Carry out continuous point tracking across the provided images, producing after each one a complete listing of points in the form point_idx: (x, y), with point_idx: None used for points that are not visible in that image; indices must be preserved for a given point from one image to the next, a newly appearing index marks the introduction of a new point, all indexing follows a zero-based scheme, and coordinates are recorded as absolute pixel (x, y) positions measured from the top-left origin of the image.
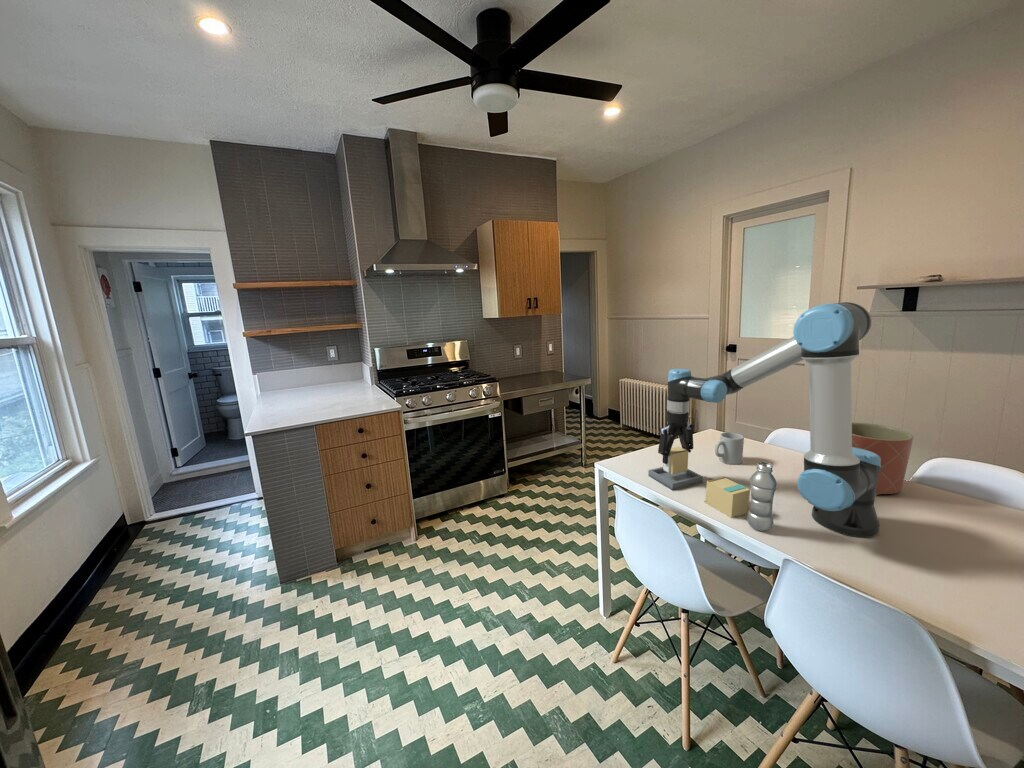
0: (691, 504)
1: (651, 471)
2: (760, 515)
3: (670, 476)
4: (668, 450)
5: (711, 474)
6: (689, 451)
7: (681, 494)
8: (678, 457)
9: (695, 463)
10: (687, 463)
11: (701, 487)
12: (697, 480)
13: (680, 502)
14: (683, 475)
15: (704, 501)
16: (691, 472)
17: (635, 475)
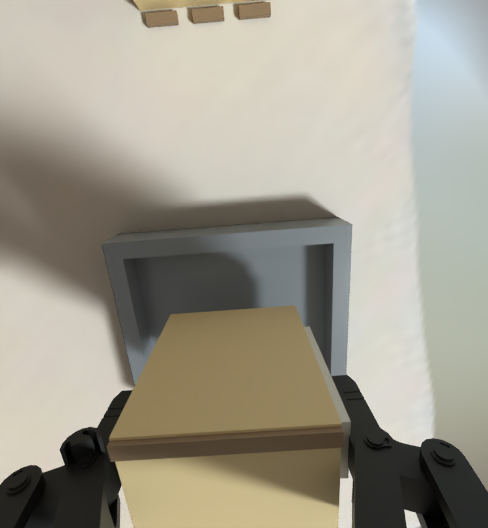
0: (366, 20)
1: None
2: None
3: None
4: (391, 493)
5: (11, 298)
6: (87, 438)
7: (326, 157)
8: (255, 387)
9: (24, 419)
10: (158, 344)
11: (162, 189)
12: (153, 235)
13: (405, 71)
14: None
15: (270, 15)
16: (135, 314)
17: (384, 406)
